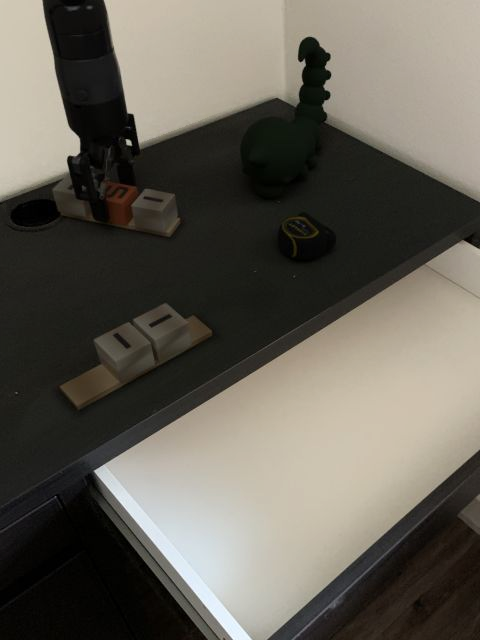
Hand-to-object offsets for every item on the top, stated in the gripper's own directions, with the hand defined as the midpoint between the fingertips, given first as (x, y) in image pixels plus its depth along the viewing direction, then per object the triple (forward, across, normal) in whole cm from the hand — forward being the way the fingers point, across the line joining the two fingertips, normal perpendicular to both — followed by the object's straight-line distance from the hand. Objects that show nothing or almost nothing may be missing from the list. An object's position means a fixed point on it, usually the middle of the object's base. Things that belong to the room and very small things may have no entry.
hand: (116, 205), depth 93 cm
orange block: (+1, 0, 0) cm, 1 cm away
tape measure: (+2, -2, +27) cm, 27 cm away
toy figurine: (+2, -19, +19) cm, 27 cm away
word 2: (+2, +25, +16) cm, 30 cm away
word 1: (+2, 0, 0) cm, 2 cm away
